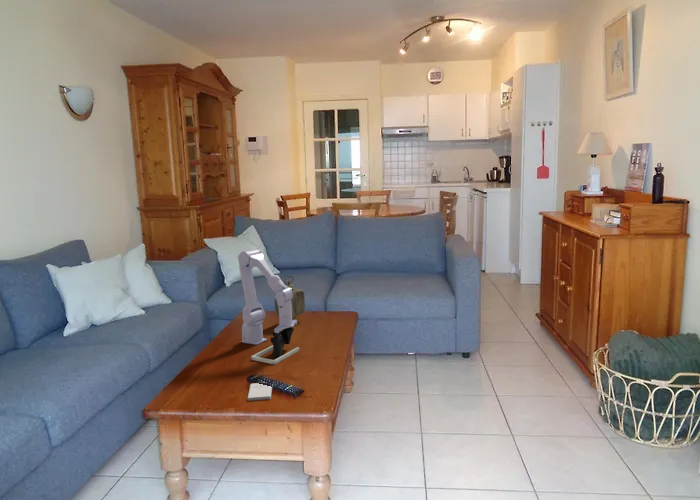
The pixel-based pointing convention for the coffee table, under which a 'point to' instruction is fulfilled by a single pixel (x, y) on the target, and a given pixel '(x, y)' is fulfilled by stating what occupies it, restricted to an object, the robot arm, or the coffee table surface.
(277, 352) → the gaming controller
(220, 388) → the coffee table surface
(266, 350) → the grey u-shaped bracket
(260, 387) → the external hard drive
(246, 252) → the robot arm
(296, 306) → the tabletop clock
